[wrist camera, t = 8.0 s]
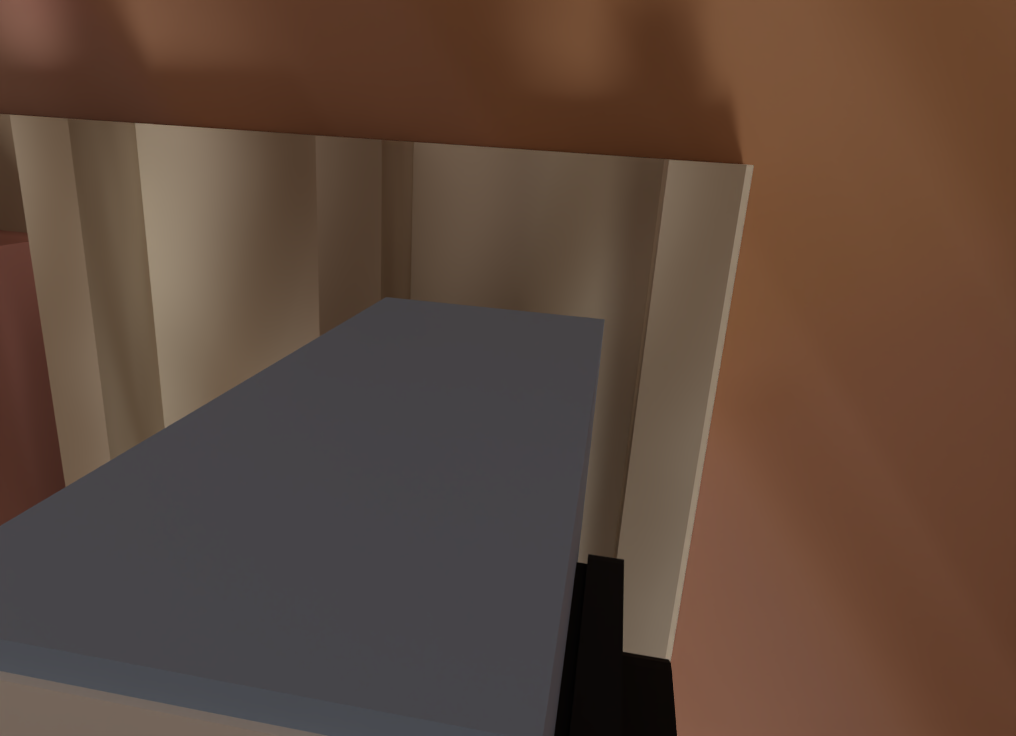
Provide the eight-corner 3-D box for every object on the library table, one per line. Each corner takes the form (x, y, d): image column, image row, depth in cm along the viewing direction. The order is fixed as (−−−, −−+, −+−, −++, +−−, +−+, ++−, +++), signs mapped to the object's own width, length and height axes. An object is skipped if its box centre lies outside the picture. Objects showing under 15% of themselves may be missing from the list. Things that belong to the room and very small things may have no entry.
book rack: (743, 164, 14) (943, 181, 5) (652, 723, 18) (671, 1266, 9) (-118, 105, 16) (-966, 49, 8) (-18, 599, 21) (-489, 921, 12)
